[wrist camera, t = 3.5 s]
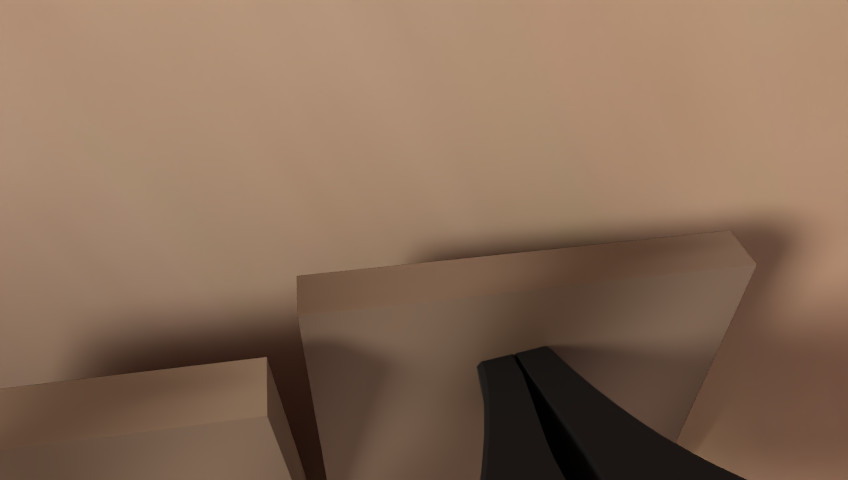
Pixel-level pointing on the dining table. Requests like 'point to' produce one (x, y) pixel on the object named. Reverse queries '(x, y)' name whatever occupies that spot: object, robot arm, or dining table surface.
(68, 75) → the dining table surface
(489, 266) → the plank
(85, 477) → the plank
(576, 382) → the robot arm
